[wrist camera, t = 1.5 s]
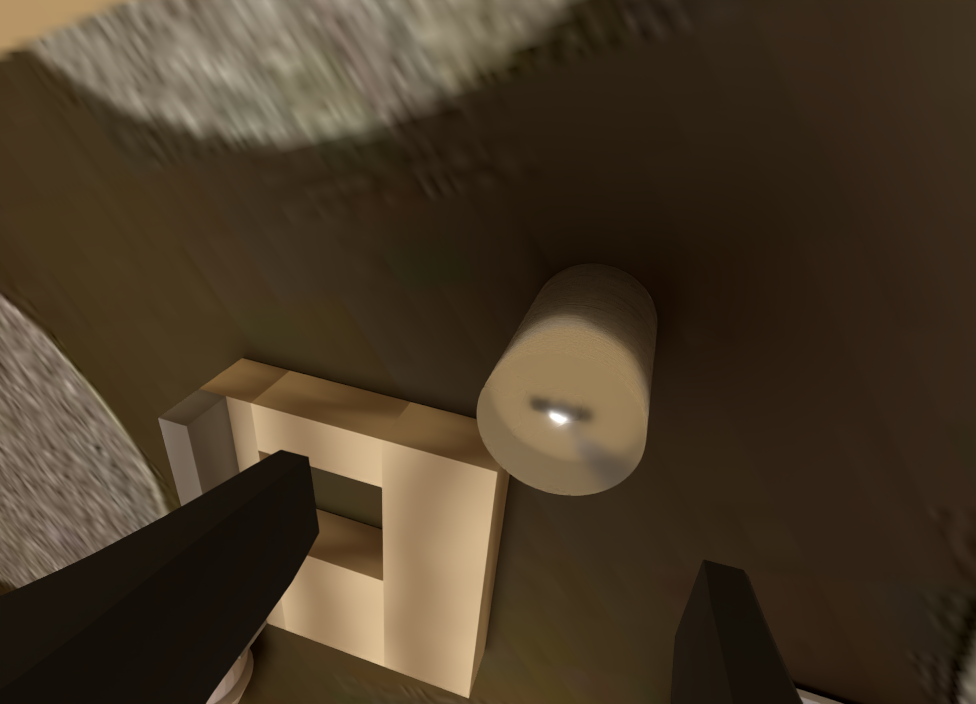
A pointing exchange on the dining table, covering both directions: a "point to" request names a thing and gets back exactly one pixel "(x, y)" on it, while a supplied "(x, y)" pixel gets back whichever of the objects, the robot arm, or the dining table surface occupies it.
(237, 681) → the ice cream cone
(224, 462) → the jig
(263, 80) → the dining table surface
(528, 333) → the beige cylinder
